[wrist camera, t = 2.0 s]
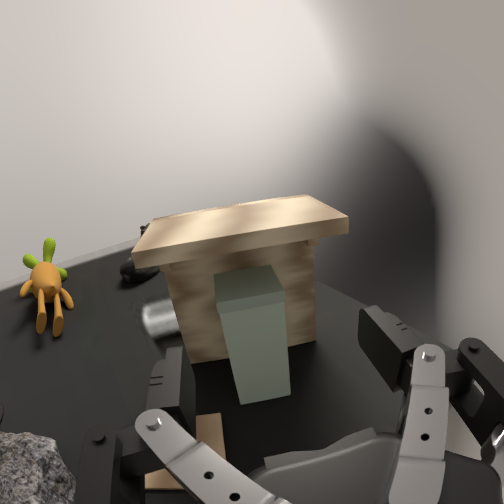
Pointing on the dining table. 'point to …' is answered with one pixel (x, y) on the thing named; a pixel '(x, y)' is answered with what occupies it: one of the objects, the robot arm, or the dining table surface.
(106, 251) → the dining table surface
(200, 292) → the shelf
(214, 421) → the mat
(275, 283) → the tin
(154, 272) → the hiking shoe
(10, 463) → the rock
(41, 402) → the dining table surface
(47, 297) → the toy
